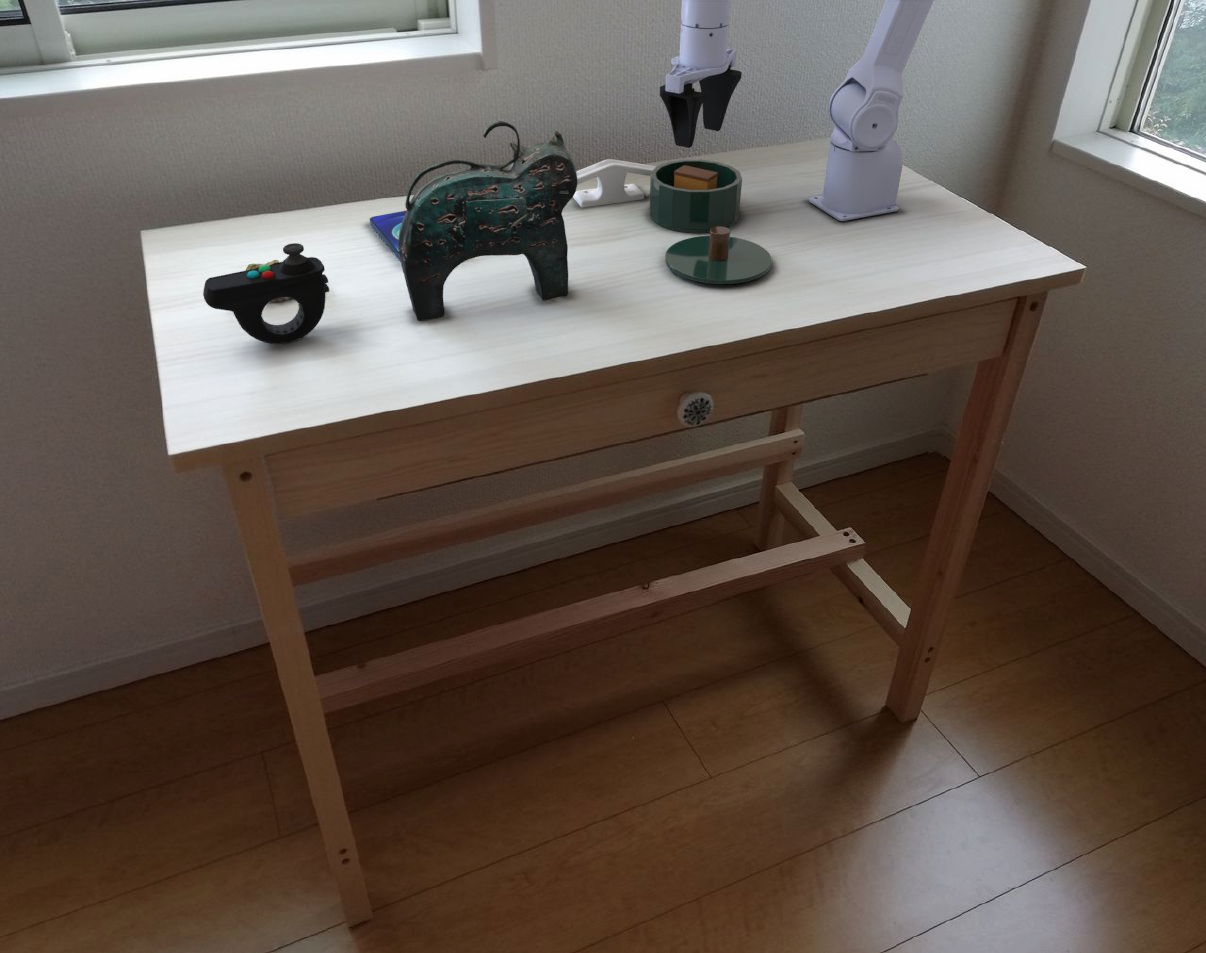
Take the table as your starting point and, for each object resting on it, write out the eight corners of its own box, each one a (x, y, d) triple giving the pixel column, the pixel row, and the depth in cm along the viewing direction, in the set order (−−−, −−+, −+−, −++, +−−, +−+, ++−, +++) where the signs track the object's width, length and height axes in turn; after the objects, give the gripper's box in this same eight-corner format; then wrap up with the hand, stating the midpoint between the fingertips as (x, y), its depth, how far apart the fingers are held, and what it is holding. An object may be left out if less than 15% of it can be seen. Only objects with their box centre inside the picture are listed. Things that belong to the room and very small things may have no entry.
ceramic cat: (569, 278, 118) (566, 105, 106) (588, 302, 114) (586, 124, 102) (403, 305, 113) (379, 126, 101) (415, 331, 108) (391, 146, 96)
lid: (737, 236, 128) (740, 203, 125) (790, 277, 119) (795, 241, 116) (647, 253, 124) (648, 219, 121) (695, 296, 115) (697, 260, 112)
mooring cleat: (535, 201, 138) (533, 162, 134) (669, 184, 143) (671, 146, 140) (543, 212, 135) (542, 172, 131) (680, 194, 140) (682, 155, 137)
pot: (711, 193, 140) (714, 154, 137) (754, 224, 131) (758, 183, 128) (635, 206, 136) (636, 166, 133) (674, 238, 128) (676, 197, 124)
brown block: (715, 212, 133) (718, 172, 130) (705, 219, 131) (708, 178, 128) (682, 204, 136) (684, 164, 132) (672, 210, 134) (674, 170, 130)
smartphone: (422, 207, 134) (461, 247, 123) (423, 213, 134) (462, 254, 123) (367, 217, 131) (402, 259, 120) (368, 224, 131) (403, 266, 121)
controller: (341, 336, 107) (325, 249, 101) (222, 363, 103) (198, 273, 97) (330, 319, 110) (314, 234, 104) (215, 344, 106) (191, 256, 100)
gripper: (704, 7, 126) (698, 117, 134) (644, 31, 116) (642, 147, 124) (754, 14, 123) (745, 126, 131) (698, 39, 113) (691, 158, 121)
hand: (698, 137), depth 128 cm, fingers open, 7 cm apart
